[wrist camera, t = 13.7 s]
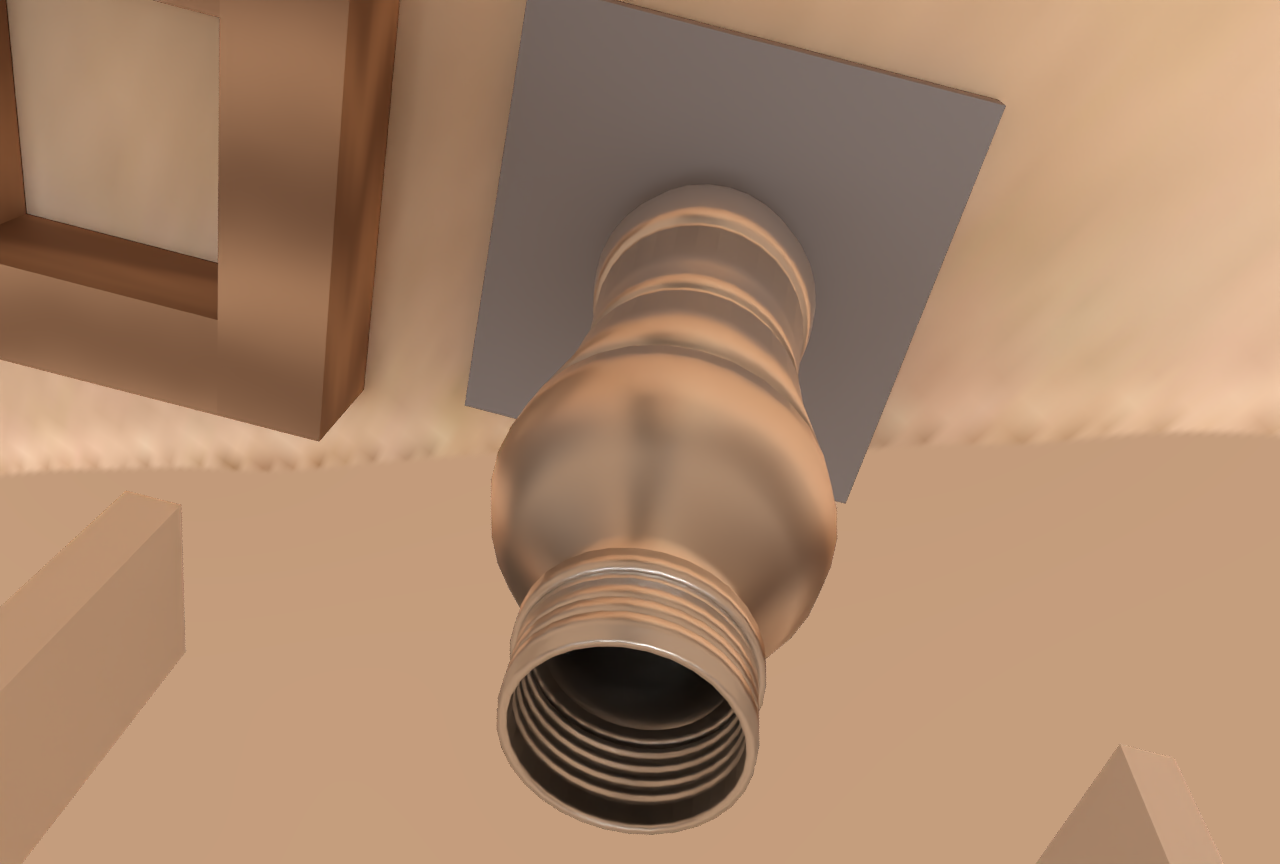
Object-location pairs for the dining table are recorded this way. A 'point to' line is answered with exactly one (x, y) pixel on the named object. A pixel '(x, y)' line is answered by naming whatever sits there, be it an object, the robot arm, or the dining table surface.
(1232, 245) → the dining table surface
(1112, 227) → the dining table surface
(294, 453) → the dining table surface
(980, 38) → the dining table surface
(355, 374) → the walnut block
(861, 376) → the charcoal mat
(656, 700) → the plastic bottle
